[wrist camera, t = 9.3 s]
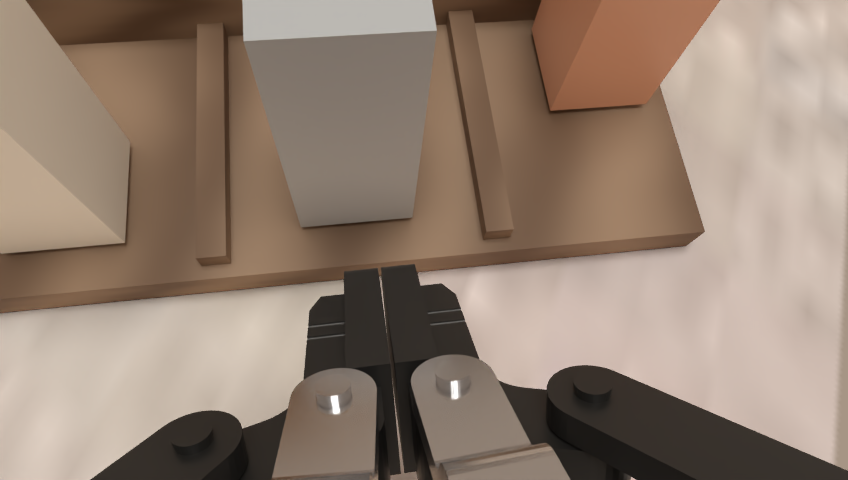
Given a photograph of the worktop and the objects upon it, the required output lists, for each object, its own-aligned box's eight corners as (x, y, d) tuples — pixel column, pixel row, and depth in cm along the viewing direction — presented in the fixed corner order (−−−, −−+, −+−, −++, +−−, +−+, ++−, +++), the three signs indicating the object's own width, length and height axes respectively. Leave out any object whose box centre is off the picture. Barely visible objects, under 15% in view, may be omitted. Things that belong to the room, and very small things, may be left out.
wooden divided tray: (-5, 313, 22) (-84, 279, 18) (27, 57, 26) (-33, -14, 22) (686, 245, 25) (741, 203, 21) (621, 25, 28) (657, -44, 25)
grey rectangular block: (300, 227, 22) (243, 41, 13) (295, 130, 23) (240, -102, 14) (412, 217, 22) (436, 30, 13) (400, 122, 24) (414, -108, 14)
